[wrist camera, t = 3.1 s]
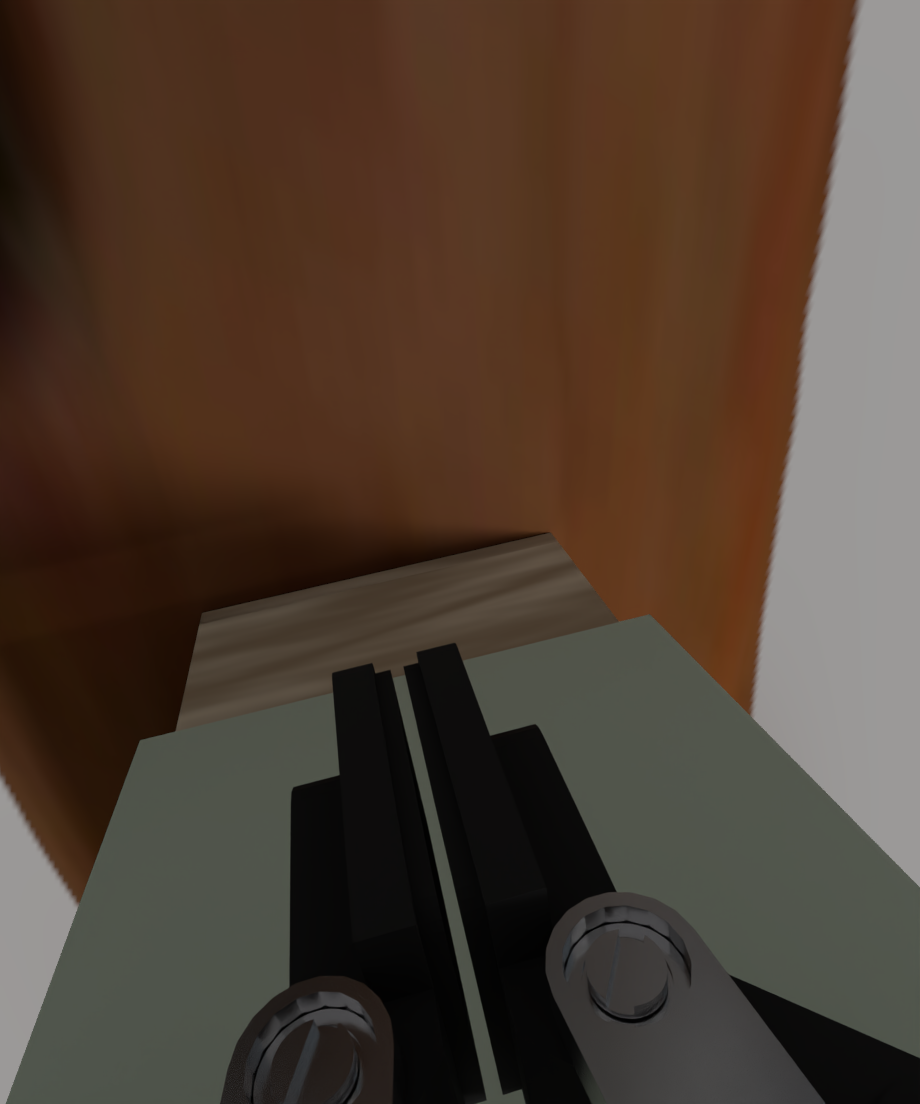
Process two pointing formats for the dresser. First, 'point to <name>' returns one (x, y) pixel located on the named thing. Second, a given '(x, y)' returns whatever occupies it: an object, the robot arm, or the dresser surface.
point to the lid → (603, 802)
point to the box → (384, 625)
